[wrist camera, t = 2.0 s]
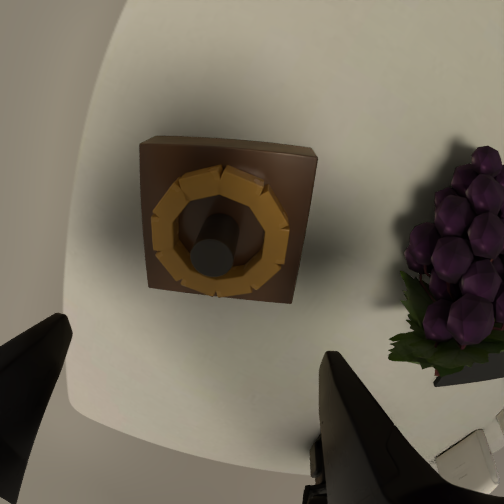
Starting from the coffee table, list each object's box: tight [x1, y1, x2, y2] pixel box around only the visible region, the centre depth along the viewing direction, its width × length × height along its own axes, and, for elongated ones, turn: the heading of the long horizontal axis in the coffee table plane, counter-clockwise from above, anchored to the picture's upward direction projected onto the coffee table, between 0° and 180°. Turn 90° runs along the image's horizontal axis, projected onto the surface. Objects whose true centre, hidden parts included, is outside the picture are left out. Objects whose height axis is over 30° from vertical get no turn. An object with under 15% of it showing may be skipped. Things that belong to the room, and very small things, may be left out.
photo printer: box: [436, 430, 500, 494], centre depth 31 cm, size 10×4×12 cm, turn 154°
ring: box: [151, 165, 290, 298], centre depth 16 cm, size 7×7×1 cm
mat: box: [434, 351, 504, 387], centre depth 24 cm, size 14×10×1 cm
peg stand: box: [139, 136, 318, 304], centre depth 17 cm, size 9×9×6 cm
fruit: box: [388, 146, 504, 377], centre depth 15 cm, size 10×11×15 cm
